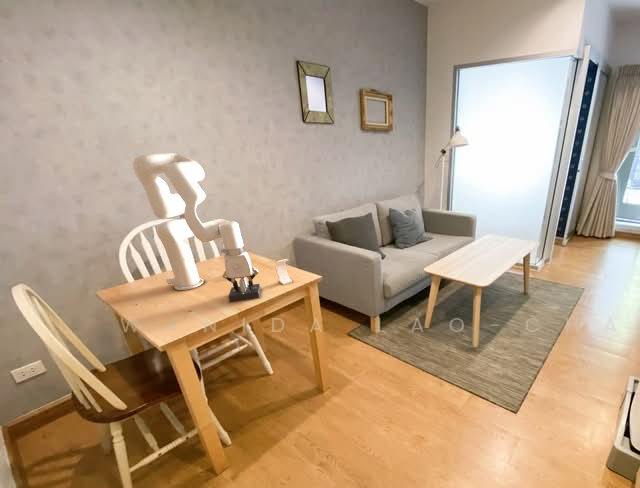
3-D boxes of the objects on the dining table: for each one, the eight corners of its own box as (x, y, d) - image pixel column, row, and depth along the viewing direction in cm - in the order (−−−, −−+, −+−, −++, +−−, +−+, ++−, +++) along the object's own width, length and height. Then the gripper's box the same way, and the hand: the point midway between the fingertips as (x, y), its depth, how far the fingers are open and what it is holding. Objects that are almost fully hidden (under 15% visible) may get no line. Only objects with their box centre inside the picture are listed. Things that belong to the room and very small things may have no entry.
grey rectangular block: (245, 291, 146) (243, 281, 144) (241, 292, 145) (238, 282, 143) (247, 286, 151) (244, 276, 148) (243, 287, 150) (240, 277, 148)
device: (229, 302, 144) (228, 296, 142) (233, 292, 152) (231, 286, 151) (259, 298, 147) (257, 291, 145) (260, 289, 155) (259, 283, 154)
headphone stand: (283, 284, 159) (278, 261, 154) (278, 280, 163) (273, 258, 158) (292, 282, 162) (288, 259, 156) (287, 278, 166) (283, 255, 161)
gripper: (210, 256, 135) (222, 295, 143) (255, 251, 139) (263, 289, 147) (214, 250, 141) (225, 288, 149) (257, 246, 146) (265, 283, 153)
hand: (244, 288), depth 148 cm, fingers open, 5 cm apart
